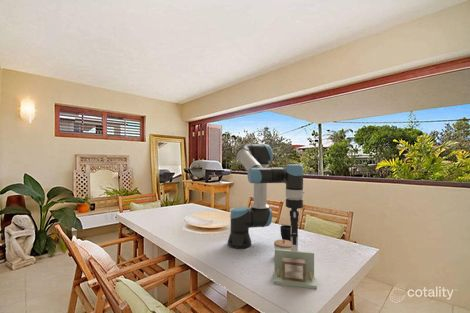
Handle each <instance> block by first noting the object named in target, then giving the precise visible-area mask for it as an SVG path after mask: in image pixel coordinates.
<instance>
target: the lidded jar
mask: <svg viewBox="0 0 470 313" xmlns="http://www.w3.org/2000/svg"><path fill="white" fill-rule="evenodd" d="M273 244H274V250H275V249H281V250H291V241H289V240H282V239H277V240H276V239H275V240H274V242H273Z"/></svg>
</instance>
